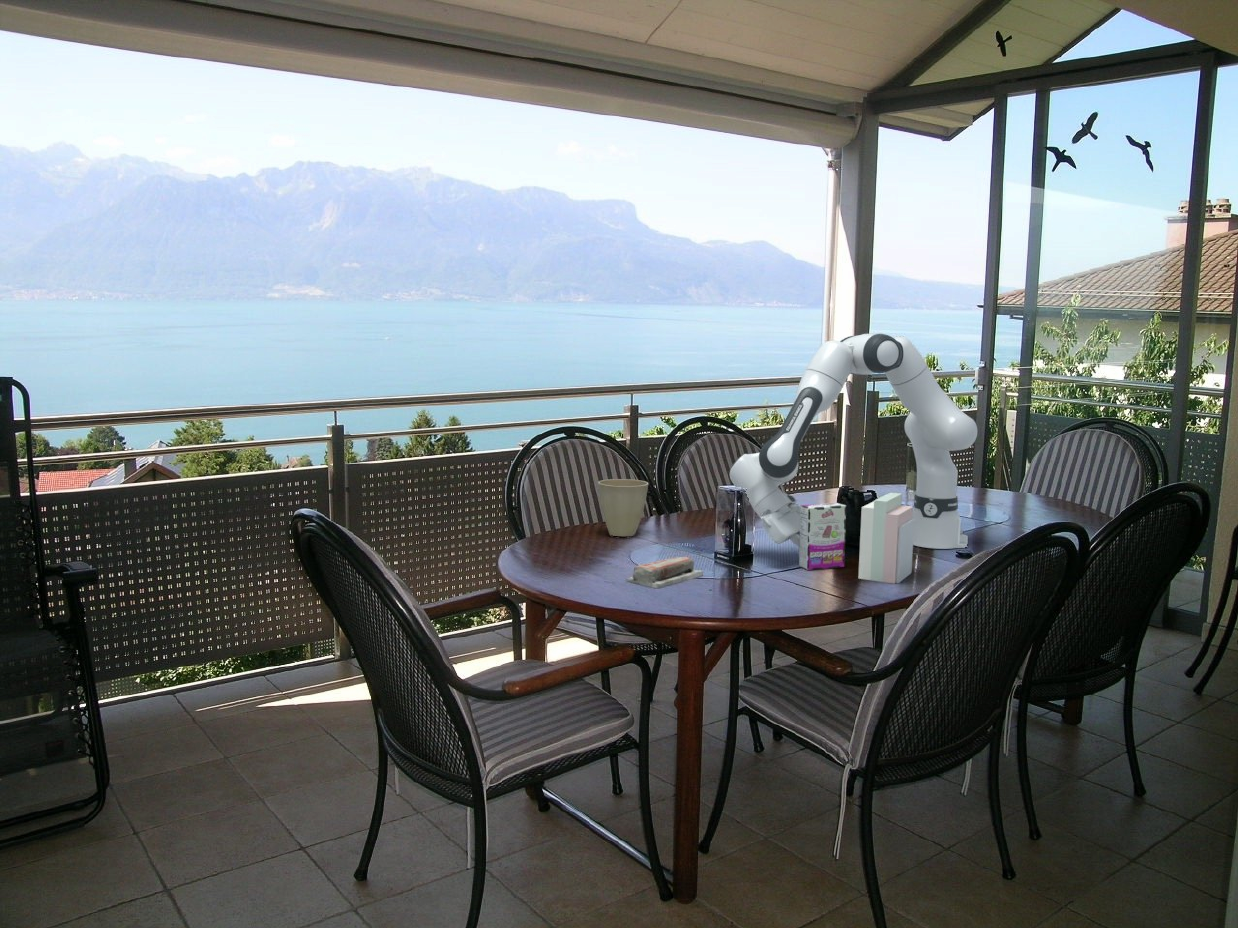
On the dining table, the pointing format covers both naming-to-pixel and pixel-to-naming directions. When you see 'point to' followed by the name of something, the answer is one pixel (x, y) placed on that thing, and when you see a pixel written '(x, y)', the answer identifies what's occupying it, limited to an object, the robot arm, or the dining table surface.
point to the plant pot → (622, 504)
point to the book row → (886, 540)
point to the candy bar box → (822, 536)
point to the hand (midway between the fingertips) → (807, 548)
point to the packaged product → (664, 572)
